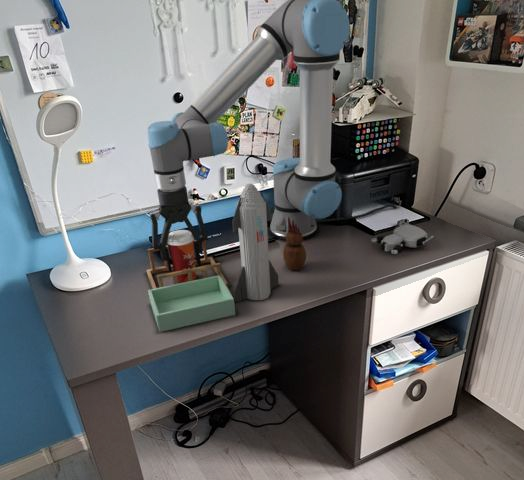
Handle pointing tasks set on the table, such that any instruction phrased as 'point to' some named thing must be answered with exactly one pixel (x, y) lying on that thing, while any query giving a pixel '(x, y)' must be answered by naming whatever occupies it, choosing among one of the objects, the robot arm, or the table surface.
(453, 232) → the table surface
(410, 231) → the robot toy
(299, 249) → the wooden figurine
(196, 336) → the table surface
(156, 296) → the green rectangular tray
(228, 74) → the robot arm
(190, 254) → the paper cup
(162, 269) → the drying rack
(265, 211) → the rocket model
